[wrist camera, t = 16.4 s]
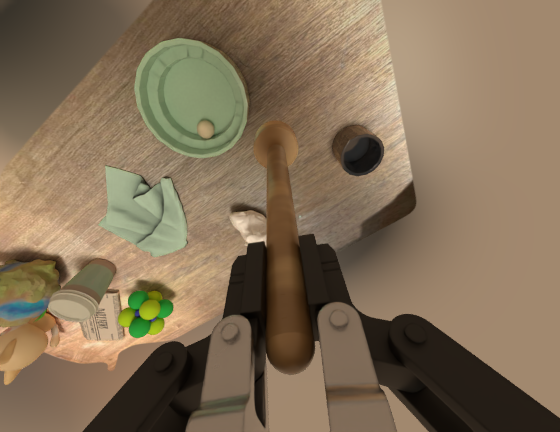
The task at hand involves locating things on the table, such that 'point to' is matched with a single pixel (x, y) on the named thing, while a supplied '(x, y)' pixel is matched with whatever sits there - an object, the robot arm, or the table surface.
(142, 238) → the cloth
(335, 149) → the crock
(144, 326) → the molecule model
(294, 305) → the wooden plunger
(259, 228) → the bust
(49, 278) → the decorative rock
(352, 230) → the table surface
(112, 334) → the newspaper
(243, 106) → the bowl
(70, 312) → the coffee cup
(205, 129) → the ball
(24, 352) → the kitten
